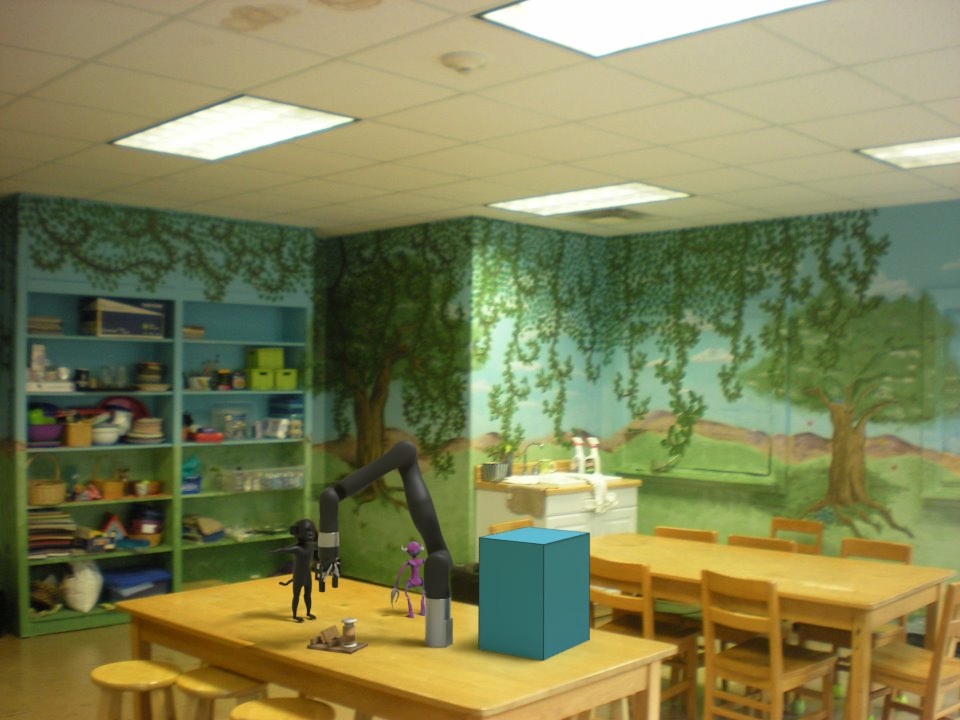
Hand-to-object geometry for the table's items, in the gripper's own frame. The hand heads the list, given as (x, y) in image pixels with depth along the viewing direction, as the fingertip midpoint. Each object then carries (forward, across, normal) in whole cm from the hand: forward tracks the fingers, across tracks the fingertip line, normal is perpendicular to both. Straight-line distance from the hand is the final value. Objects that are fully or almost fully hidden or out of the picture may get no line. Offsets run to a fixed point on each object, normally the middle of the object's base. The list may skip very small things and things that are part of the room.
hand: (328, 589), depth 352 cm
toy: (+20, +55, -5) cm, 59 cm away
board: (+20, 0, -4) cm, 21 cm away
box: (+21, +31, -67) cm, 77 cm away
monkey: (+20, +32, +36) cm, 53 cm away
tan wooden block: (+17, 0, +2) cm, 17 cm away
